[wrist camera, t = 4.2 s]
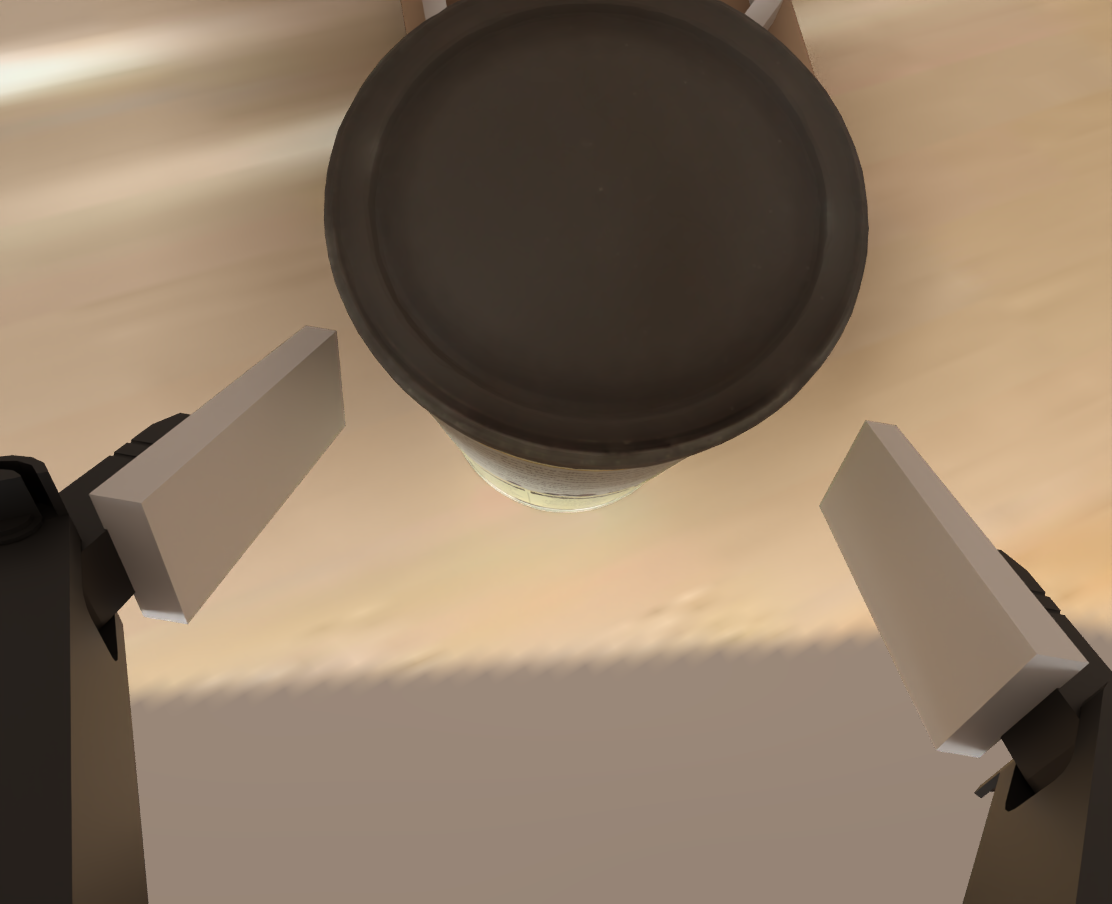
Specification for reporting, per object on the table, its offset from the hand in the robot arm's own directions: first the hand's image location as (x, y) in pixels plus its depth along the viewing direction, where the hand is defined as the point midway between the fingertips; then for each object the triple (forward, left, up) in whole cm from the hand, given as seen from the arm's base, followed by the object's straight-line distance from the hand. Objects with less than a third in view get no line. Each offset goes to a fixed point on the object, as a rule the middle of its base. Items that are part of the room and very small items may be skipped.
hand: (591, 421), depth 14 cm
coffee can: (0, +3, -10) cm, 10 cm away
